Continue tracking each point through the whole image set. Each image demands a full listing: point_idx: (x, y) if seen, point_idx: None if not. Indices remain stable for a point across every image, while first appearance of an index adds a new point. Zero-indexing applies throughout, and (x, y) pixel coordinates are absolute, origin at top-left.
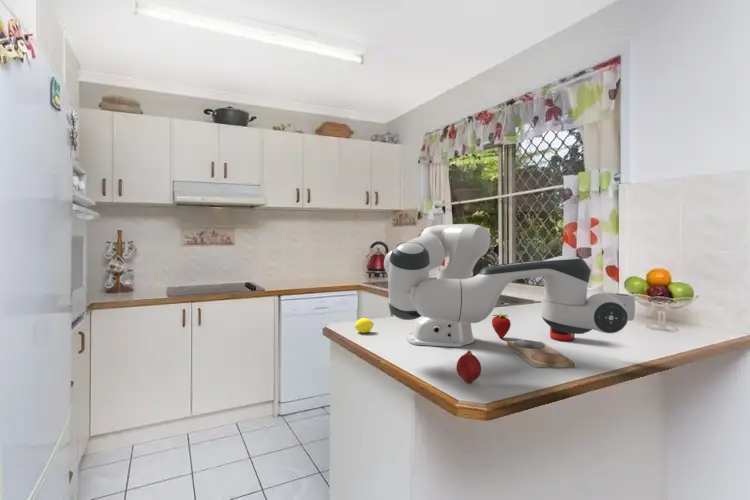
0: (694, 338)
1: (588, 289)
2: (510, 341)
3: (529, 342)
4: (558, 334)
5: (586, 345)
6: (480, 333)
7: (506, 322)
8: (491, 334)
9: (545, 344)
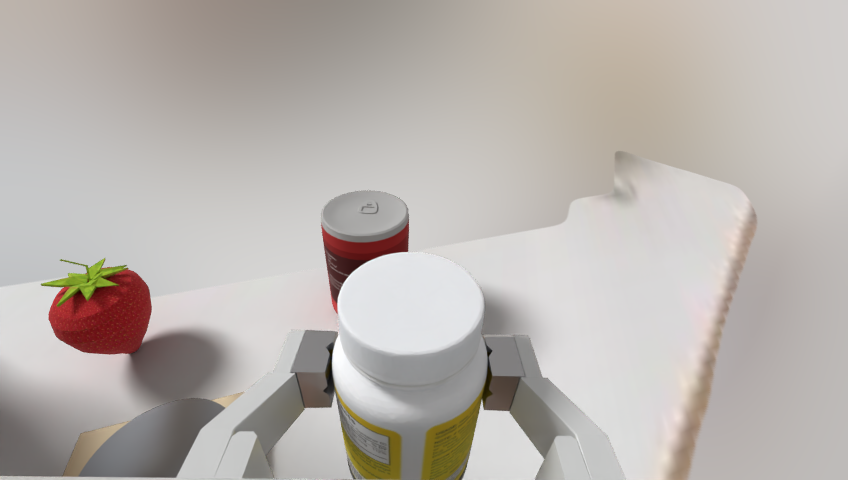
0: (683, 231)
1: (405, 356)
2: (95, 433)
3: (176, 438)
4: None
5: None
6: None
7: (91, 328)
8: None
9: None
